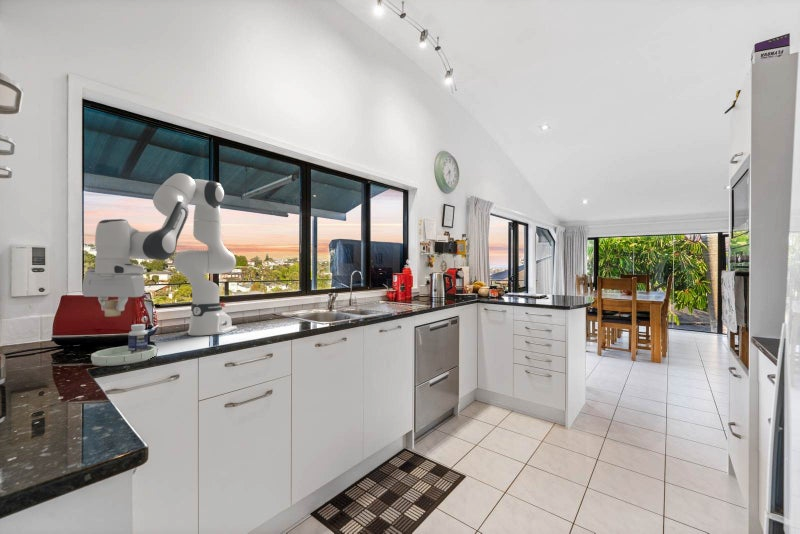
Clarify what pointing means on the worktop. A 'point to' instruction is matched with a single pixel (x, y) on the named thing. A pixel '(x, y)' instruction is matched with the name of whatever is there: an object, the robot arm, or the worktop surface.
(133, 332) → the pill bottle
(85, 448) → the worktop surface
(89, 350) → the worktop surface
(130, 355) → the dish
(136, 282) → the robot arm
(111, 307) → the beech bead
